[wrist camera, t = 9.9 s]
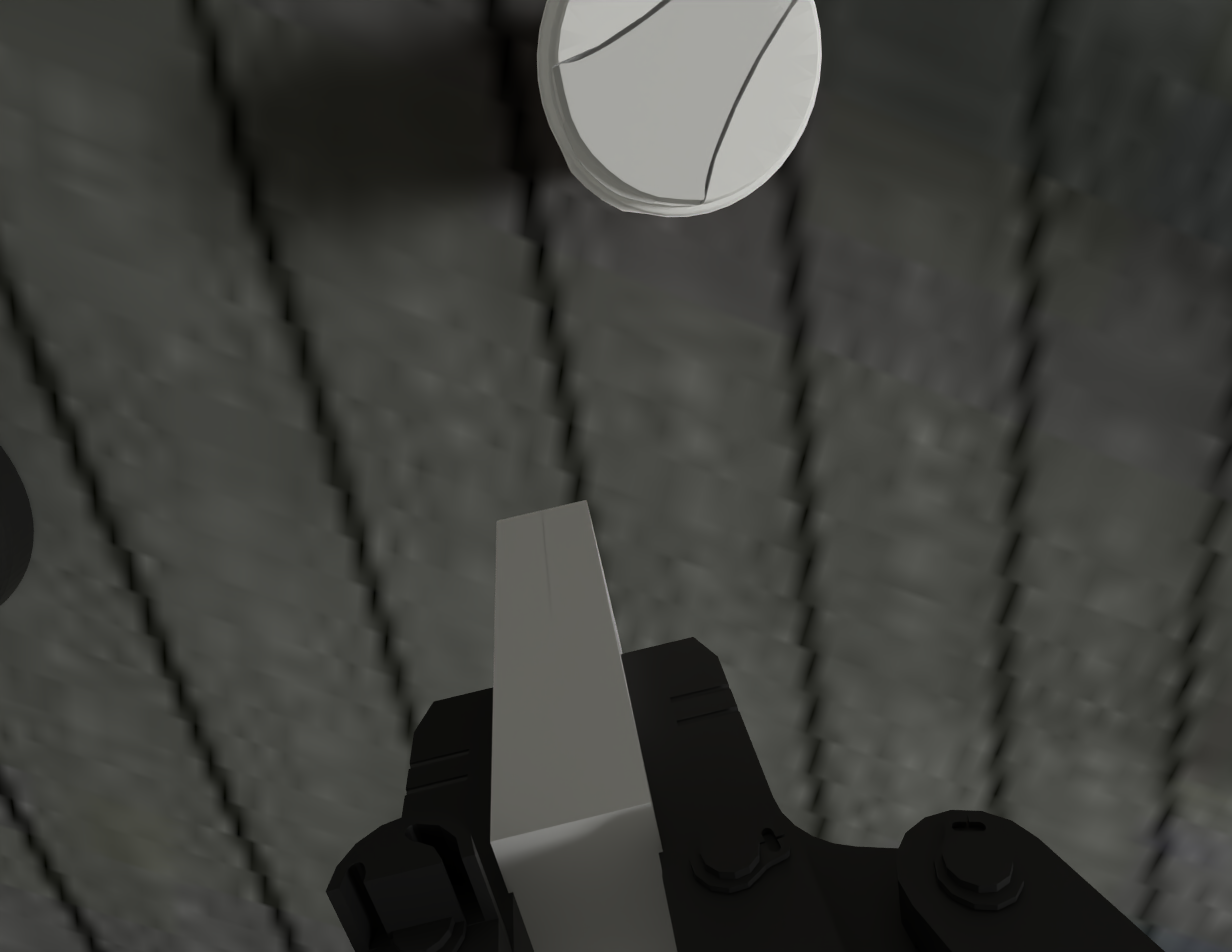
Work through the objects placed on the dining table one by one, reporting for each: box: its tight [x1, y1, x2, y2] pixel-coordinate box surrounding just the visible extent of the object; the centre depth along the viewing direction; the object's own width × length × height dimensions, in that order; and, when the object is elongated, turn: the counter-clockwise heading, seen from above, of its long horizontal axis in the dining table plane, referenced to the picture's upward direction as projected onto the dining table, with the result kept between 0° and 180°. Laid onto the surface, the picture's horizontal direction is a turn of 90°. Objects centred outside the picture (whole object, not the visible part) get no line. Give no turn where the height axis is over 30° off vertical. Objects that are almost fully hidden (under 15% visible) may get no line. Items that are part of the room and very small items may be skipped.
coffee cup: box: [537, 0, 822, 217], centre depth 29 cm, size 8×8×15 cm
